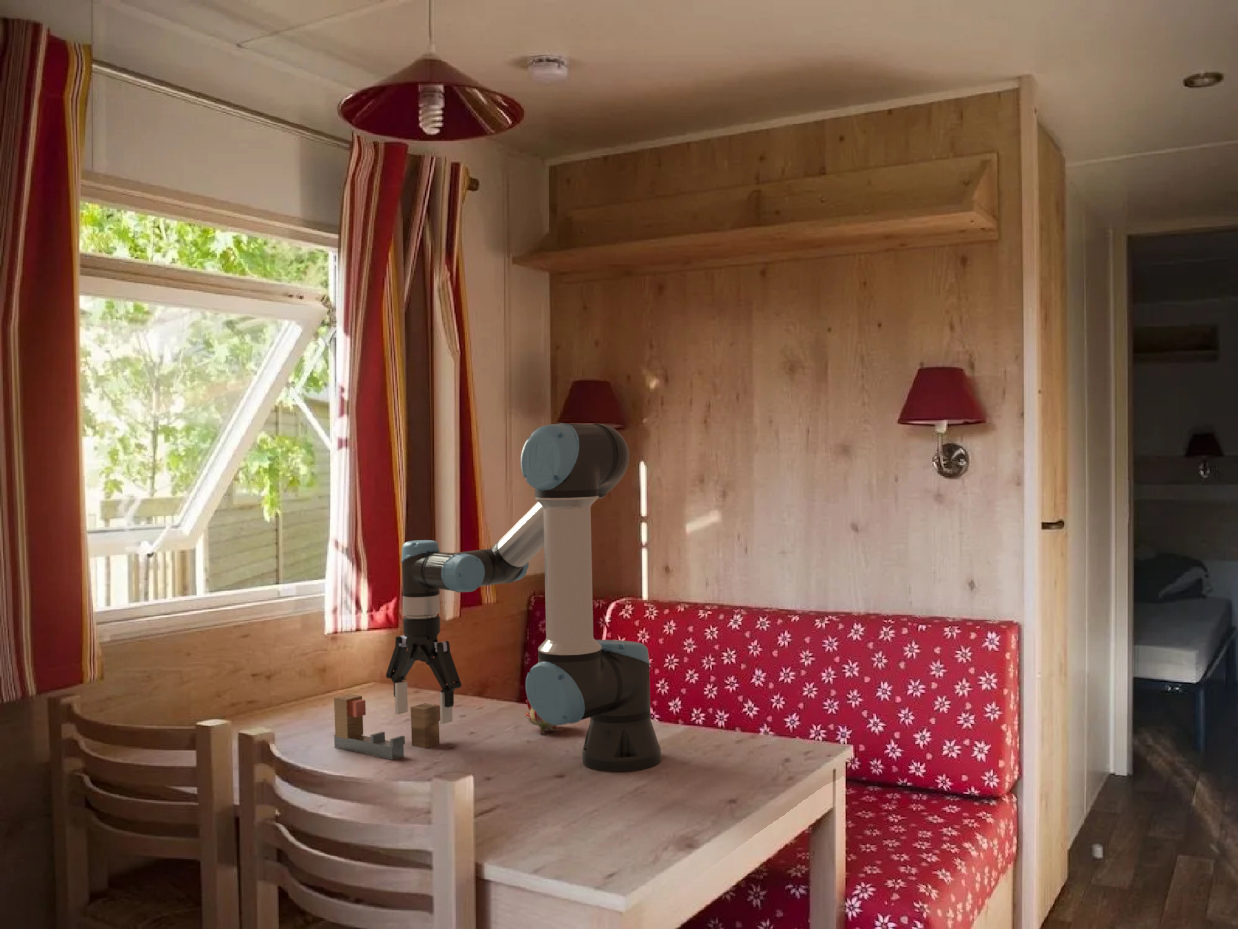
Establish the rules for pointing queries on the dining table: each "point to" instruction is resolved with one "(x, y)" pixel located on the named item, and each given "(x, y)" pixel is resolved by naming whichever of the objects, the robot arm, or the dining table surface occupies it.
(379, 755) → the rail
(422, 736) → the walnut finger
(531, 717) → the flower
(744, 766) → the dining table surface
